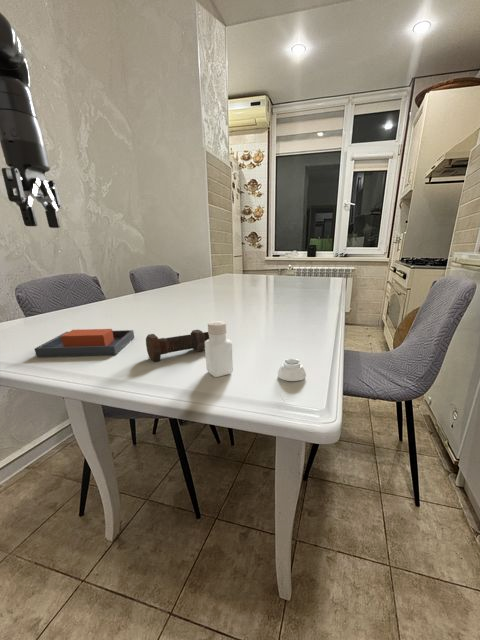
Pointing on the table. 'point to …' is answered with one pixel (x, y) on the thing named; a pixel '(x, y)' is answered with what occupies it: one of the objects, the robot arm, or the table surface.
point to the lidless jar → (291, 370)
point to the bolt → (175, 344)
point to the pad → (87, 338)
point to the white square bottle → (218, 350)
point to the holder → (57, 350)
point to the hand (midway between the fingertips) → (43, 227)
